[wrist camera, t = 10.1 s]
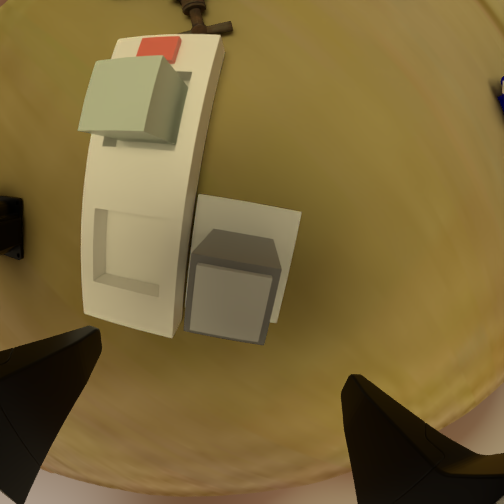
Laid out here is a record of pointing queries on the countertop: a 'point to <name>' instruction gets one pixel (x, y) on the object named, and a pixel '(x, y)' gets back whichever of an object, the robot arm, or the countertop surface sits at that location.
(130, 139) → the lamp plug
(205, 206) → the rubber pad
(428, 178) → the countertop surface
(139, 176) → the power strip
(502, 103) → the robot toy
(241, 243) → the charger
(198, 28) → the faucet
